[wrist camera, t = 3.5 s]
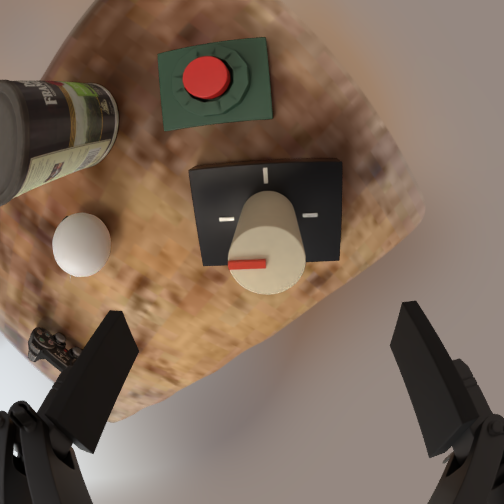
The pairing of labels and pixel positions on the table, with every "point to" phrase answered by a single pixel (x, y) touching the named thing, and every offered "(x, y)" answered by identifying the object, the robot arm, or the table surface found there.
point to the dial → (267, 245)
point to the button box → (236, 95)
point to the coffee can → (51, 131)
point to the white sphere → (81, 244)
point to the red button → (206, 77)
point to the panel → (269, 179)
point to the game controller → (51, 349)
